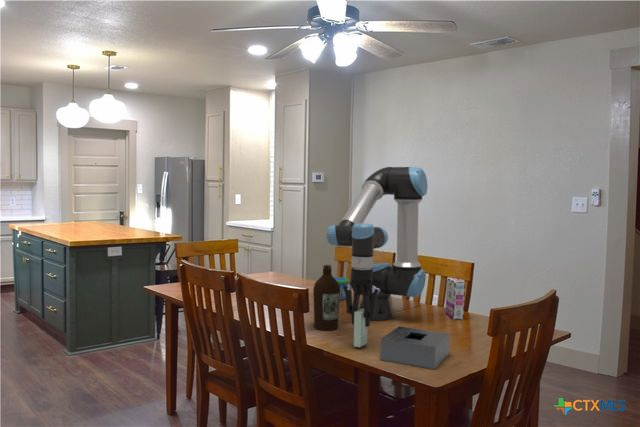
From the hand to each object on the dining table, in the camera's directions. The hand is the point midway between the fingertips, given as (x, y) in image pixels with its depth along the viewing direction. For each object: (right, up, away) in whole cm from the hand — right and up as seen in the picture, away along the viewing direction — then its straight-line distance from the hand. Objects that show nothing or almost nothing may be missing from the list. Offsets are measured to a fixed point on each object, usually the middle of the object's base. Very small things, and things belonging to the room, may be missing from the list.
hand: (360, 334), depth 190 cm
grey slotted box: (+18, -5, -9) cm, 21 cm away
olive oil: (-12, -3, +25) cm, 28 cm away
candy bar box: (+45, -3, +48) cm, 66 cm away
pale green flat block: (0, -4, 0) cm, 4 cm away
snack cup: (-6, 0, +80) cm, 80 cm away
